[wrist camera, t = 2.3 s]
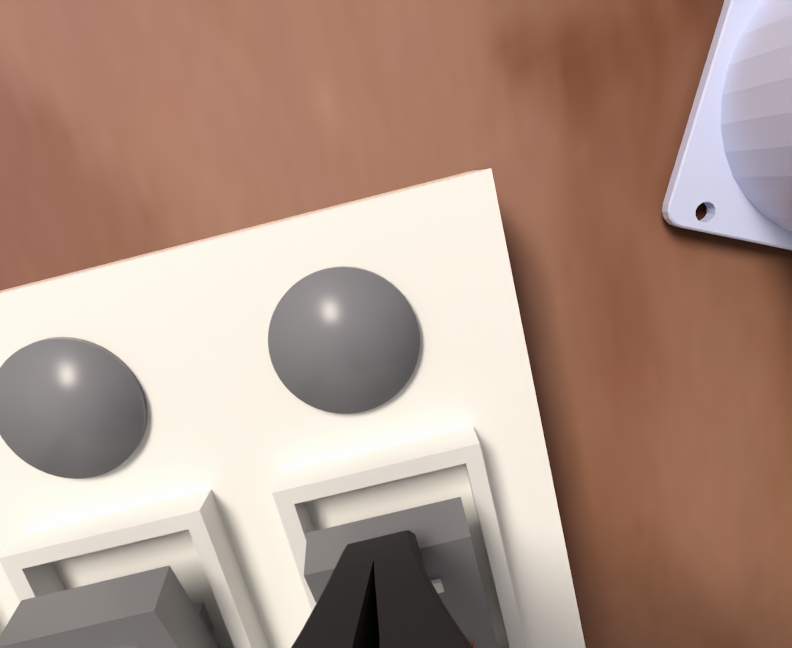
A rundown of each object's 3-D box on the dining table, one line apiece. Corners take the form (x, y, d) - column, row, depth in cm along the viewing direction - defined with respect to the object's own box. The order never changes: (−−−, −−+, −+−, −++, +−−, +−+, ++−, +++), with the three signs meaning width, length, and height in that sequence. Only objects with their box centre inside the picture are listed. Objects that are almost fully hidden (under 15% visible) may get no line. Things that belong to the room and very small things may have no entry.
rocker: (460, 496, 12) (472, 540, 11) (496, 646, 14) (508, 694, 13) (307, 532, 12) (303, 579, 11) (367, 675, 14) (369, 726, 13)
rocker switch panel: (469, 171, 15) (500, 166, 11) (553, 579, 18) (600, 684, 14) (-272, 359, 15) (-484, 417, 12) (-65, 721, 19) (-178, 858, 15)
